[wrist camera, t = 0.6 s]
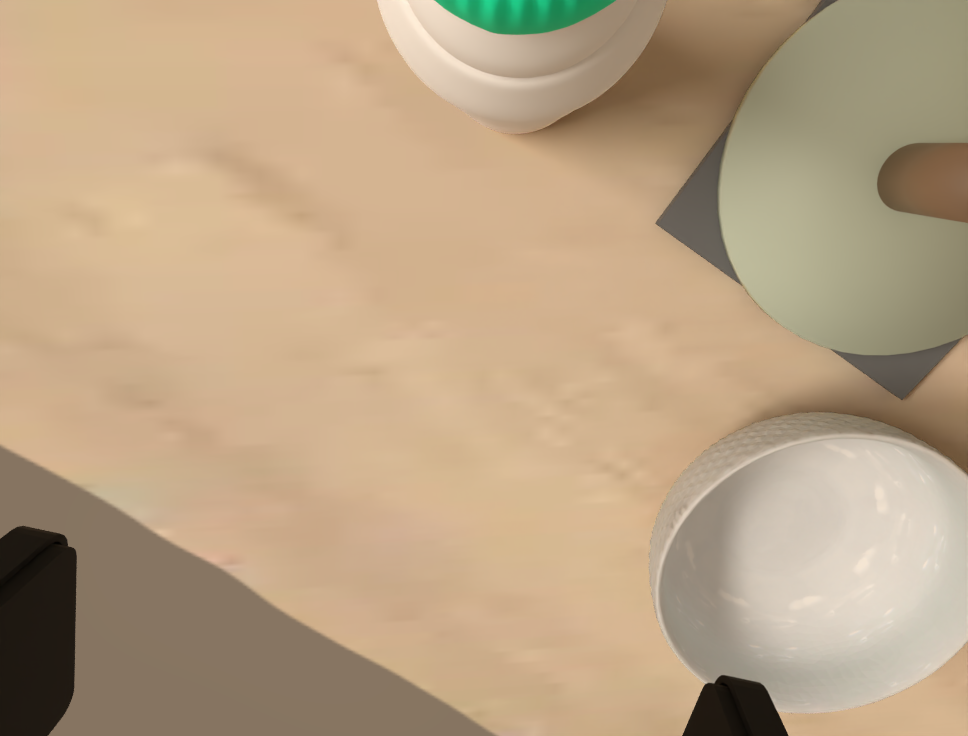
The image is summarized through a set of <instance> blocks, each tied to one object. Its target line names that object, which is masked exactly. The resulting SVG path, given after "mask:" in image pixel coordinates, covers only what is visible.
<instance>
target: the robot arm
mask: <svg viewBox="0 0 968 736" xmlns="http://www.w3.org/2000/svg"><path fill="white" fill-rule="evenodd" d="M76 560H77V556H76V551H75V549H74V548H72V547H68V543H67V539H66V537H65V536H64V535H62V534H59V533H54V532H49V531H45V530H40V529H35V528H30V527H26V526H20V527H16V528H15V529H13V530H11V531H10V532H9V533H7V534H6V535H5V536H3V537H2V538H1V539H0V736H48V735H49V733H50V732H51V731H52V730H53V728H54V727H55V726H56V724H57V723H58V722H59V720H60V719H61V718H62V717H63V715H64V714H65V712H66V710H67V708H68V706H69V704H70V702H71V699H72V696H73V692H74V670H75V669H74V668H75V617H76V614H75V612H76V611H75V610H76V563H77V561H76ZM682 736H788V734H787V731H786V729H785V727H784V725H783V723H782V721H781V719H780V716H779V714H778V712H777V710H776V708H775V706H774V704H773V701H772V699H771V697H770V695H769V693H768V691H767V689H766V688H765V686H764V685H763V684H761V683H760V682H755V681H751V680H746V679H741V678H736V677H732V676H727V675H721V676H719V677H718V678H717V680H716V681H715V683H707V684H705V685H704V687H703V689H702V691H701V693H700V696H699V698H698V700H697V703H696V705H695V707H694V710H693V712H692V714H691V717H690V719H689V721H688V724H687V726H686V728H685V731H684V733H683V735H682Z"/></svg>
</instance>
